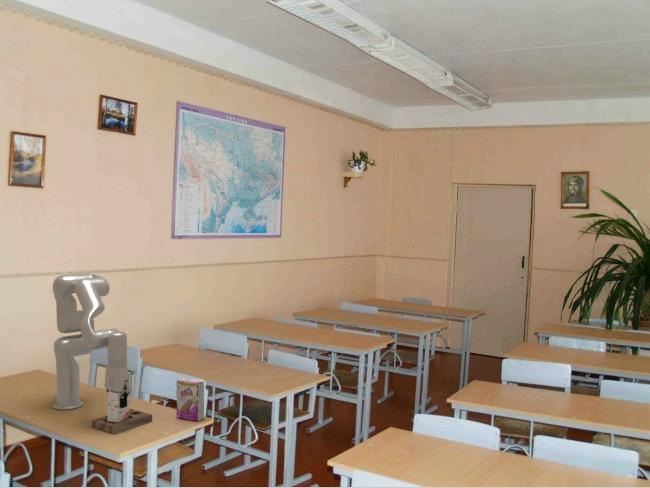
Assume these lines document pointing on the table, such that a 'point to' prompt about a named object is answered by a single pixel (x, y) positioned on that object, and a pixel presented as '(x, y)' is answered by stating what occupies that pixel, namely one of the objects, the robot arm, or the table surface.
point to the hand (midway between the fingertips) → (118, 405)
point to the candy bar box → (190, 399)
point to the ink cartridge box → (117, 407)
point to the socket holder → (122, 422)
